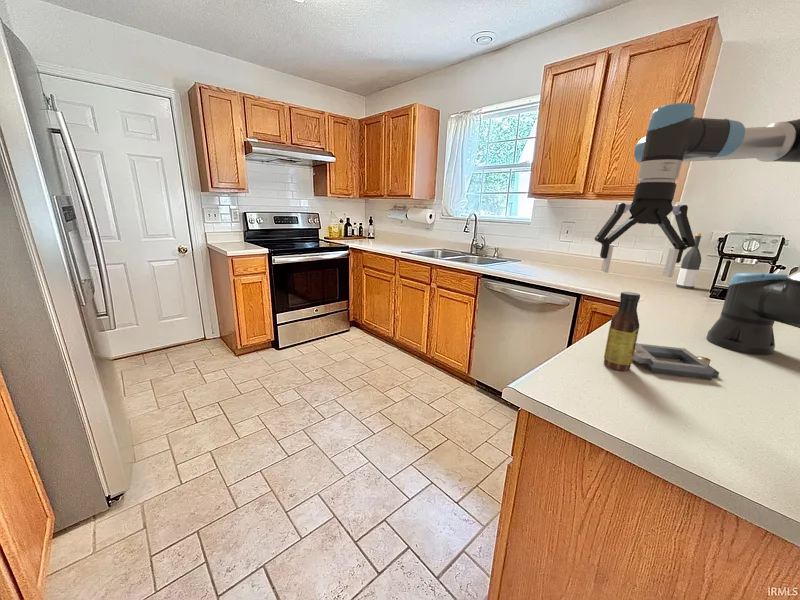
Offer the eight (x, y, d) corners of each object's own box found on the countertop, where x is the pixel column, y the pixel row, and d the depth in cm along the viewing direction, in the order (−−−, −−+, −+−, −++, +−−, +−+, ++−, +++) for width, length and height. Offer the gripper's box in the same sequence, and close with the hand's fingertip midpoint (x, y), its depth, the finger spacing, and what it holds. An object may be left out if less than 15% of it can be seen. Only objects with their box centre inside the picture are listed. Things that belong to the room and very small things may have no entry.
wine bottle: (681, 288, 185) (695, 233, 177) (672, 285, 192) (685, 232, 184) (697, 289, 183) (712, 234, 175) (688, 286, 191) (702, 232, 183)
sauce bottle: (634, 373, 85) (652, 297, 80) (607, 370, 86) (623, 295, 81) (623, 362, 91) (639, 291, 86) (598, 359, 92) (612, 289, 87)
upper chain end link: (681, 358, 95) (684, 348, 94) (710, 380, 82) (714, 369, 82) (620, 351, 98) (622, 341, 97) (639, 371, 86) (642, 360, 85)
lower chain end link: (692, 359, 94) (695, 349, 93) (722, 381, 82) (726, 370, 81) (630, 352, 98) (632, 342, 97) (650, 372, 85) (653, 362, 85)
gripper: (601, 179, 75) (583, 272, 81) (733, 181, 70) (704, 281, 76) (591, 182, 82) (576, 267, 88) (710, 184, 77) (686, 275, 83)
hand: (635, 274), depth 82 cm, fingers open, 13 cm apart
